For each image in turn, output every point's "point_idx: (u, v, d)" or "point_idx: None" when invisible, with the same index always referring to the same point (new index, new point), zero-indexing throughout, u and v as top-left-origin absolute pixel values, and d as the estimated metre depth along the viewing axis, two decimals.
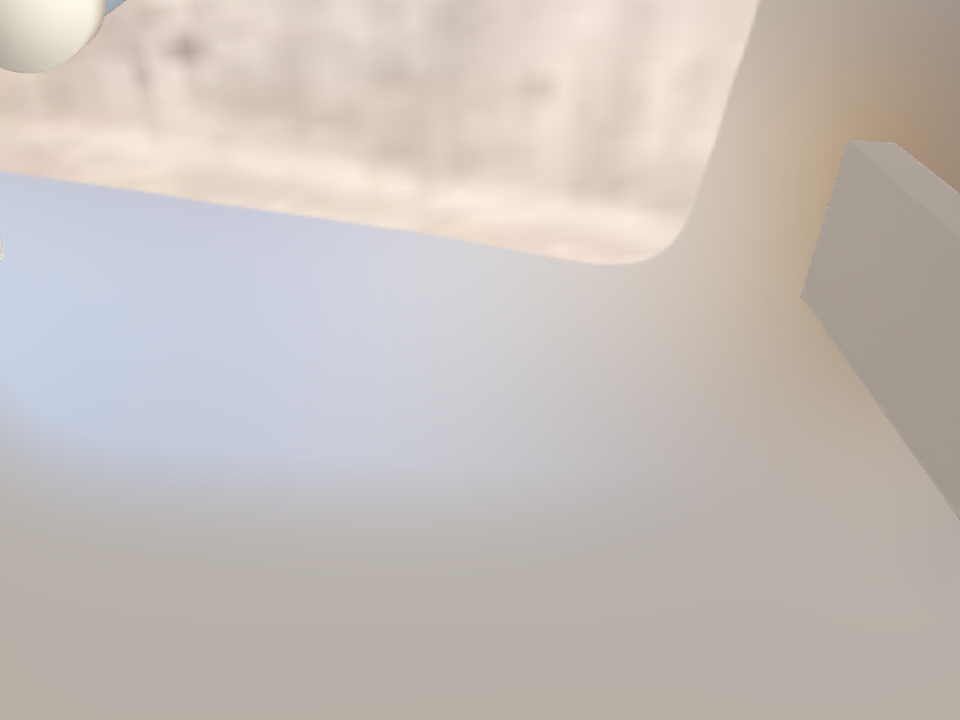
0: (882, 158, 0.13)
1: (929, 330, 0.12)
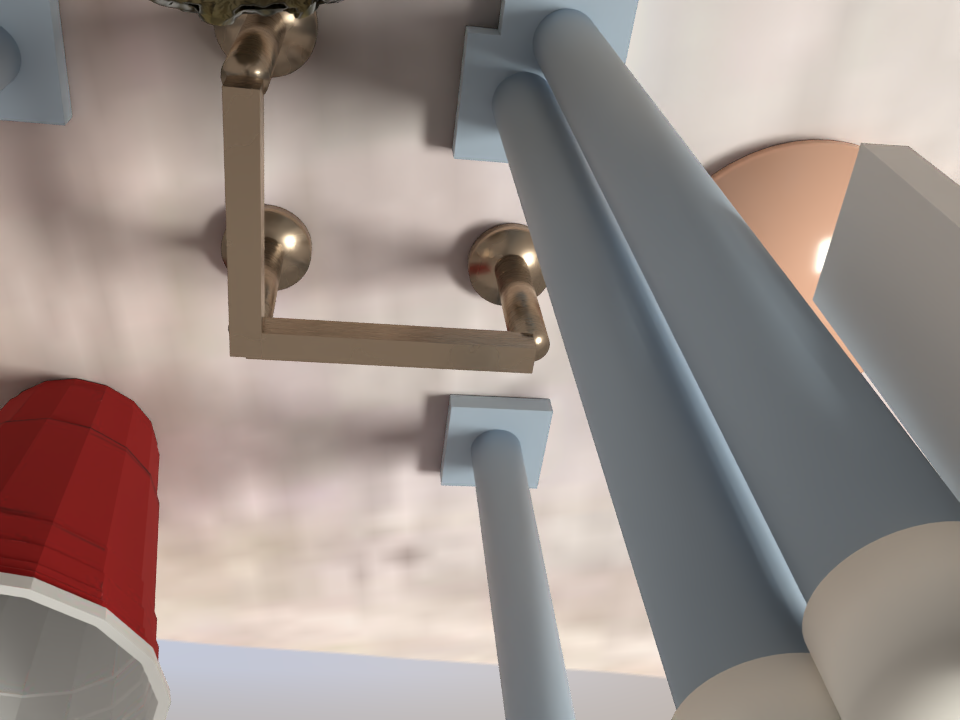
0: (896, 162, 0.13)
1: (945, 335, 0.12)
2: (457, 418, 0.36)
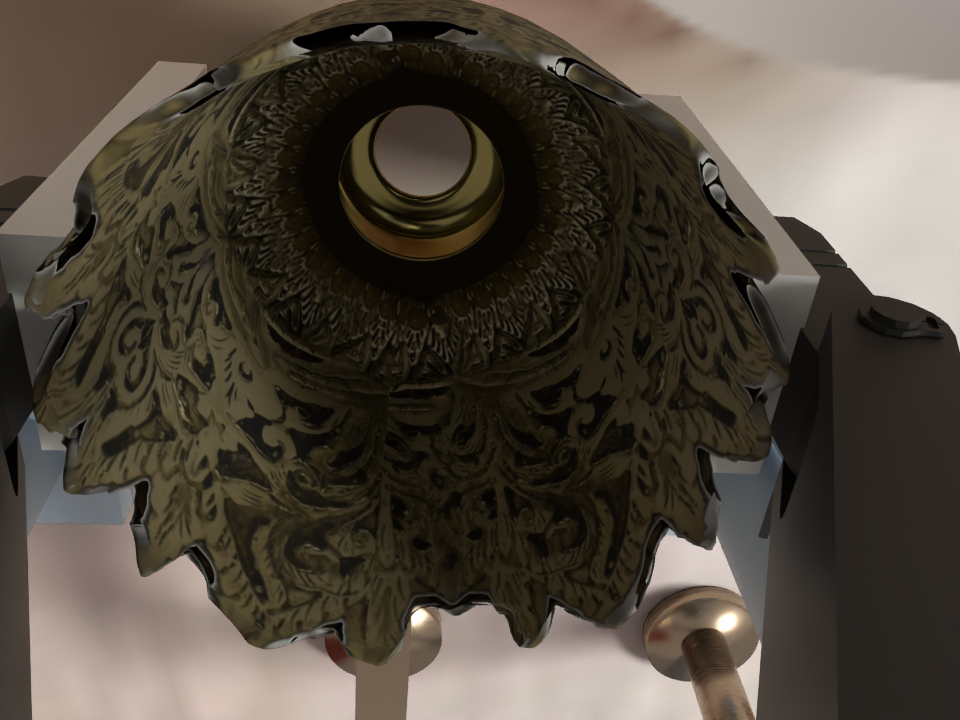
0: None
1: None
2: None
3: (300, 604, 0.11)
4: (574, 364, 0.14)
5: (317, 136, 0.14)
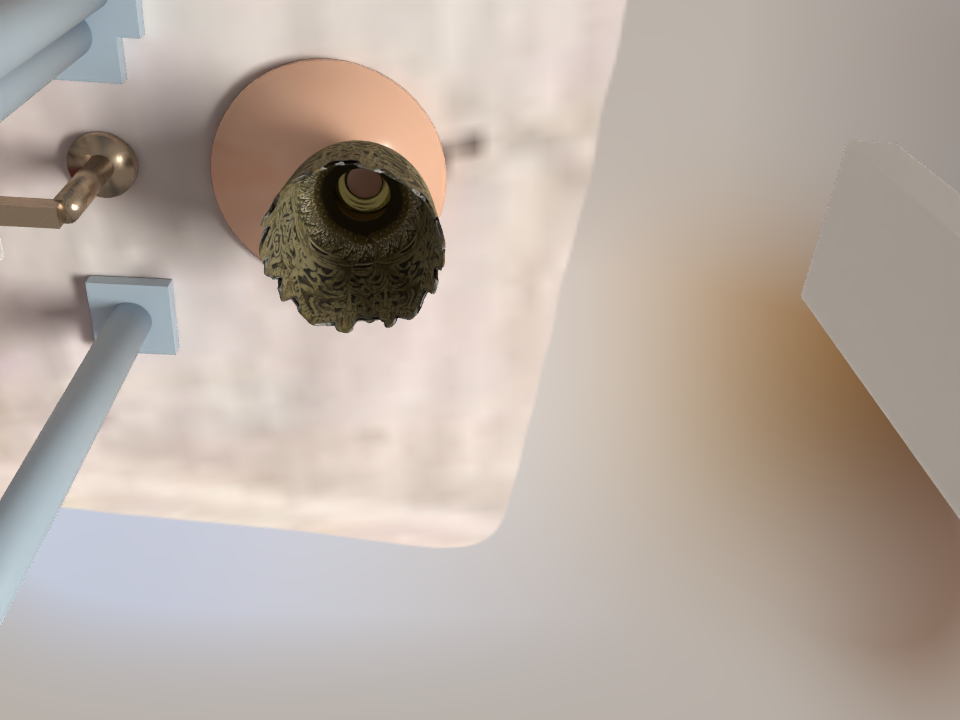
0: (882, 158, 0.13)
1: (929, 330, 0.12)
2: (92, 292, 0.46)
3: (323, 316, 0.39)
4: (412, 253, 0.41)
5: (326, 179, 0.41)
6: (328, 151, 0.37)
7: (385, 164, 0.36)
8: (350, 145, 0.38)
